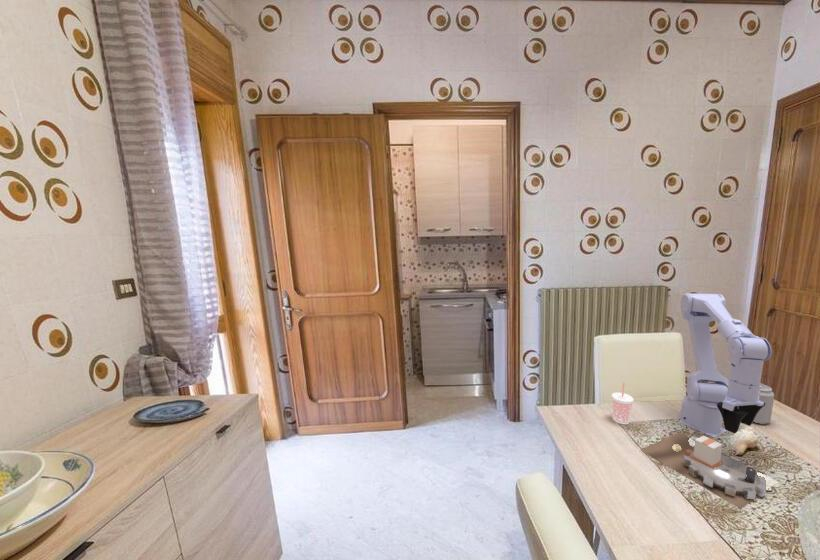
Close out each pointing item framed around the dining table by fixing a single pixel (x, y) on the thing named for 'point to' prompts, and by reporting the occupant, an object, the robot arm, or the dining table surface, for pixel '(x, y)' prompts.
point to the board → (675, 461)
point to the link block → (707, 450)
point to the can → (765, 411)
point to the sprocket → (727, 475)
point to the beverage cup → (622, 407)
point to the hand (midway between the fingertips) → (737, 427)
